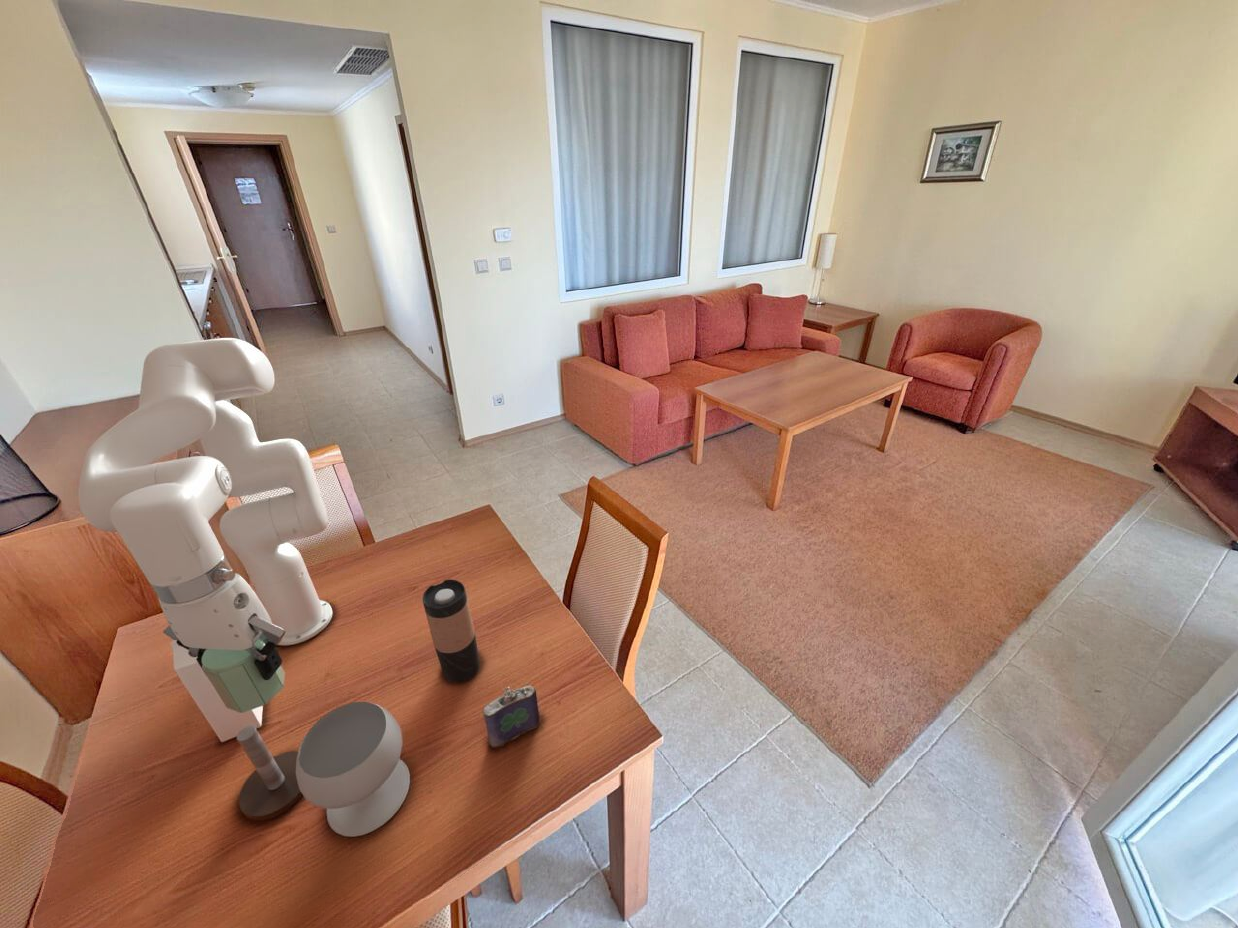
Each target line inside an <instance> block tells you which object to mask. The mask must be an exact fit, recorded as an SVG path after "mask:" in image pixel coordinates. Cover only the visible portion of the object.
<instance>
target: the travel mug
mask: <svg viewBox="0 0 1238 928" xmlns="http://www.w3.org/2000/svg"><path fill="white" fill-rule="evenodd" d="M422 604H423V607H424V611H425V615H426V619H427V623H428V628H429V631H430V635H431V638H432V642H433V643H432V644H433V646H434V649H435V652H436V655H437V658H438V662H439V665H440V667H441V671H442V674H443V676H444V678H445V679H446V680H447V681H448V682H451V683H463V682H467V681H468V680H470V679H471V678H473V677H474V676H475V675H476V674H477V672H478V671H479V669H480V655H479V650H478V644H477V643H478V642H477V637H476V632H475V627H474V622H473V619H472V614H471V609H470V605H469V601H468V596H467V592H466V588H465V586H464V584H463V583H462V582H461V581H459V580H456V579H444V580H443V581H442V582H441V583H438V584H432V585H430V586H429V587H427V588H426V590H425V591H424V592H423V594H422Z"/></svg>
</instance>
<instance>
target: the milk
mask: <svg viewBox="0 0 1238 928" xmlns="http://www.w3.org/2000/svg"><path fill="white" fill-rule="evenodd" d="M176 641H177V640H172V641H170V642H169V646H170V648H171V649H172V657H173V658H172V659H173V671H174V672H175V674H176V675H177V677H178V678H179V680H180V682H181V683H182V684H183V686H184V687H185V689H186V691H187V692H188V693H189V695H190V696H191V698H192V700H193V701H194V703H195V704H196V705H197V708H198V709H199V711H200V712H201V714H202V715H203V717H204V718H205V719H206V721H207V722H208V724H209V726H210V727H211V729H212V730H213V732H214V733H215V735H216V736H217V738H218V739H219V741H220V742H221V743H223V742H226V741H229V740H232V739H234V738H237V735H238V733H239V732H240V731H241V730H242V729H244V728H245V727H248V726H254V727H255V728H256V729H260V728H261V727H262V725H263V724H262V722H263V709H264V705H263V706H261V707H258V708H255V709H252V710H249V711H246V712H244V713H242V712H241V713H239V712H237V711H234V710H232V709H229V708H227V707H226V706H225V704H224V702H223V701H222V699H221V698H220V696H219V694H218V693H217V691H216V690H215V688H214V686H213V685H212V683H211V682H210V680H209V679H208V677H207V676H206V674H205V673H204V671H203V670H202V668H201V666H200V665H199V663H198V662H197V660H196V659H197V658H198V657H191V656H190V655H189V654H188V652H189V650H187V649H185V648H184V647H182V646H179V645H178V644H177V642H176Z"/></svg>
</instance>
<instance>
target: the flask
mask: <svg viewBox="0 0 1238 928" xmlns="http://www.w3.org/2000/svg"><path fill="white" fill-rule="evenodd" d="M510 688H511V687H510V686H506V687H504V689H502V690H501V691H502V692H503V695H501V696H499V697H498V698H496V699H494V700H492V701H491V702H490V703H488V704H487V705H485V706H484V708H483V710H482V714H483V719H484V722H485V727H486V732H487V736H488V742H489V745H490V746H491V747H492V748H499V747H503V746H505V744H506V743H508V742H510V741H513V740H515V739H517V738H518V737H519V736H520V735H521V734H523V735H524V734H525V733H526V732H529V731H531V730H533V729H536V728H537V727H538V726H539V724H540V723H541V721H540V712H539V704H538V695H537V690H536V689H535V687H534V686H532V685H525V686H523V687H520V688H516V689H510ZM504 690H505V691H504Z"/></svg>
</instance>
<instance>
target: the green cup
mask: <svg viewBox="0 0 1238 928" xmlns="http://www.w3.org/2000/svg"><path fill="white" fill-rule="evenodd" d="M253 635H254V633H253ZM254 645H255V646H256V647H258V648H259V649H260V650H261V649H262V648H263V647H264V645H265V643H264V642H262V641H261V640H260V639H258V640H257V641H256V642H255V643H254ZM255 660H256V658H255V657H254V656H252V655H251V654H250V653H248V652H247V651H246V650H245V649H244V650H221V649H206V650H205V652H204V654H203V656H202V664H203V665H202V669H203V671H204V672H205V674H206V675H207V677H208V679H209V680H210V682H211V683H212V685H213V686H214V688H215V690H216V691H217V693H218V694H219V696H220V698H221V699H222V701H223V702H224V704H225V706H226V707H227V708H229V709H232V710H234V711H237V712H239V713H241V712H242V713H244V712H246V711H249V710H252V709H255V708H258V707H261V706H263V707H264V706H265V705H267V704H268V703H270V701H271V700H272V699H273V698H275V696H276V695H278V693H279V692H281V691H282V689H284V687H285V686H284V685H285V679H286V678H285V677H286V672H285V670H284V668H283V666H282V665H281V666H280V667H279V668H278V669H277V671H276V672H275V673H274V675H273V676H272V677H271V678H270V680H264V679H263V678H262V676H261V674H260V672H259V670H258V669H257V667H256V665H255V663H254V662H255Z"/></svg>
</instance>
